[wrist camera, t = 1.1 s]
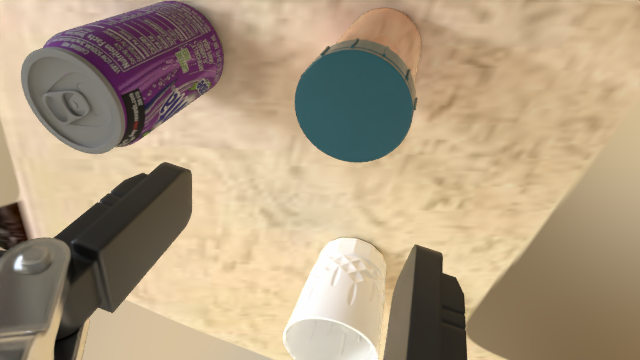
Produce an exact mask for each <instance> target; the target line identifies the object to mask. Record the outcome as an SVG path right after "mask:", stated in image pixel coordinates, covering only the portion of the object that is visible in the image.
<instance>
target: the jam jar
mask: <svg viewBox="0 0 640 360" xmlns="http://www.w3.org/2000/svg"><path fill="white" fill-rule="evenodd" d="M356 38H359V40H369V41H373V42H376V43H379V44H382V45H384V46H386V47H387V46H389V49H390V50H392V51H393V52H395V53H396V54H397V55H398V56H399V57H400V58H401V59H402V60H403V61H404V63H405V64H406V66H407V67H408V69H411V75H412V77H413V81H414V83H415V78H416V73H417V68H418V63H419V58H420V52H421V39H420V35H419V32H418V29H417V27H416V26H415V24H414V23H413V21H412V20H411V19H410V18H409V17H408V16H407V15H405V14H404V13H402V12H400V11H398V10H395V9H391V8H378V9H373V10H371V11H368V12H366V13H365V14H363V15H362V16H360V17H359V18H358V19H357V20H356V21H355V22H354V23H353V25H352V26H351V27H350V28H349V29H348V30H347V31H346V32H345V34H344V35H343V36H342V37H341V38H340V39H339V40H338V41H337V43H340V42H343V41H347V40H355V39H356ZM337 43H336V44H337Z"/></svg>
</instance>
